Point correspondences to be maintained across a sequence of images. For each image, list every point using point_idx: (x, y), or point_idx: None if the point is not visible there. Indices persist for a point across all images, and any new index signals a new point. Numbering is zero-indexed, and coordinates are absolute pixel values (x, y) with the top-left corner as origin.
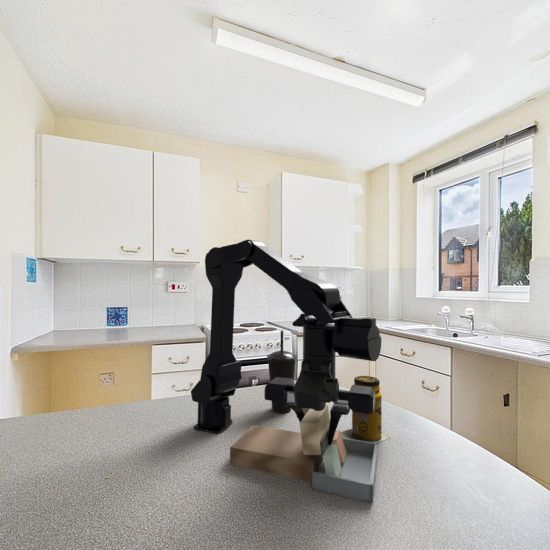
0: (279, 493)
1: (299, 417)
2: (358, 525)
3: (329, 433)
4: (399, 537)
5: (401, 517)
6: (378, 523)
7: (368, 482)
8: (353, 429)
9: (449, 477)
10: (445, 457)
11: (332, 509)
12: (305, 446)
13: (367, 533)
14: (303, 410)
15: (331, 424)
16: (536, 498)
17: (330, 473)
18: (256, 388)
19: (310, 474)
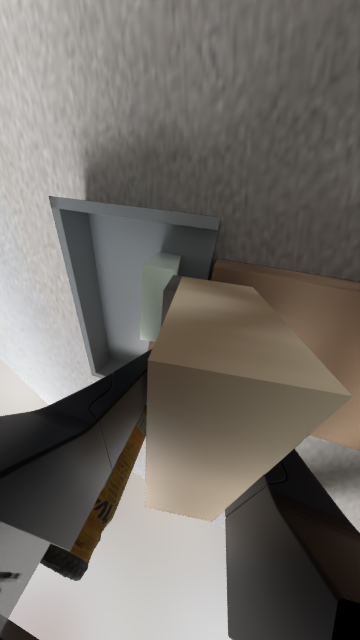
0: (334, 164)
1: (299, 469)
2: (91, 70)
3: (146, 366)
4: (5, 62)
5: (29, 165)
6: (56, 111)
7: (101, 272)
8: (145, 419)
9: (17, 314)
10: (36, 358)
11: (162, 132)
12: (248, 295)
13: (64, 33)
14: (291, 549)
15: (114, 392)
16: None
17: (166, 256)
18: None
19: (224, 262)
